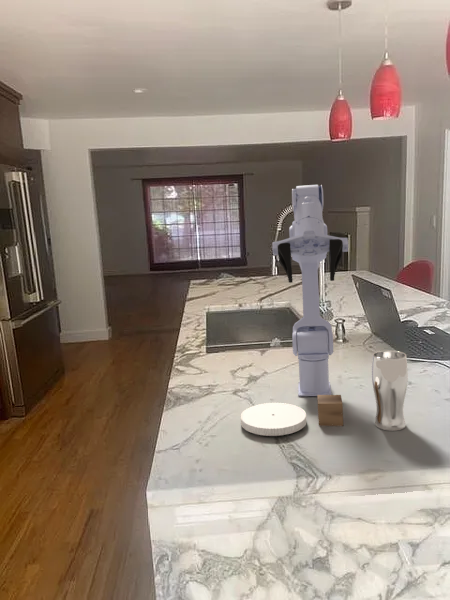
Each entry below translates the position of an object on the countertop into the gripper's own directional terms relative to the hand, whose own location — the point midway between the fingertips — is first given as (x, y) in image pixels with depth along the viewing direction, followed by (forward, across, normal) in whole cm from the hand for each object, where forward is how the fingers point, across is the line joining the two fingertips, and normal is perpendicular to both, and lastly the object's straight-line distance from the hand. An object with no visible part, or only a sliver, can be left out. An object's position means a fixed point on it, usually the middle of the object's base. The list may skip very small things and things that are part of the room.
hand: (311, 278), depth 92 cm
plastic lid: (+16, -9, +30) cm, 35 cm away
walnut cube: (+14, +3, +31) cm, 34 cm away
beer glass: (+15, +15, +30) cm, 37 cm away
